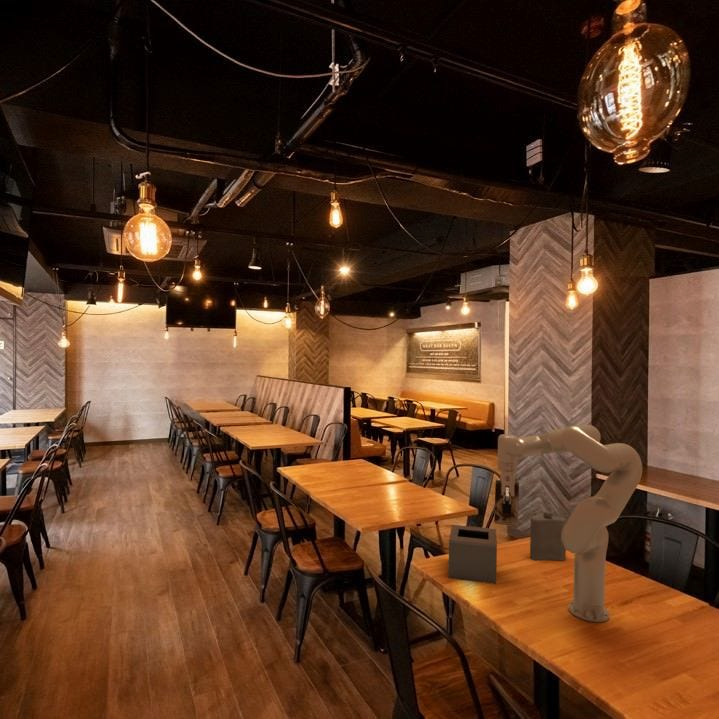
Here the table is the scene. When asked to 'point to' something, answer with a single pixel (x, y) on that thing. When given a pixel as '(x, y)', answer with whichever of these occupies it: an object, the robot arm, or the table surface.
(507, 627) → the table surface
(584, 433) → the robot arm
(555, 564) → the table surface
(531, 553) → the flask
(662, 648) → the table surface
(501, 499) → the coffee box
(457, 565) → the slot box
